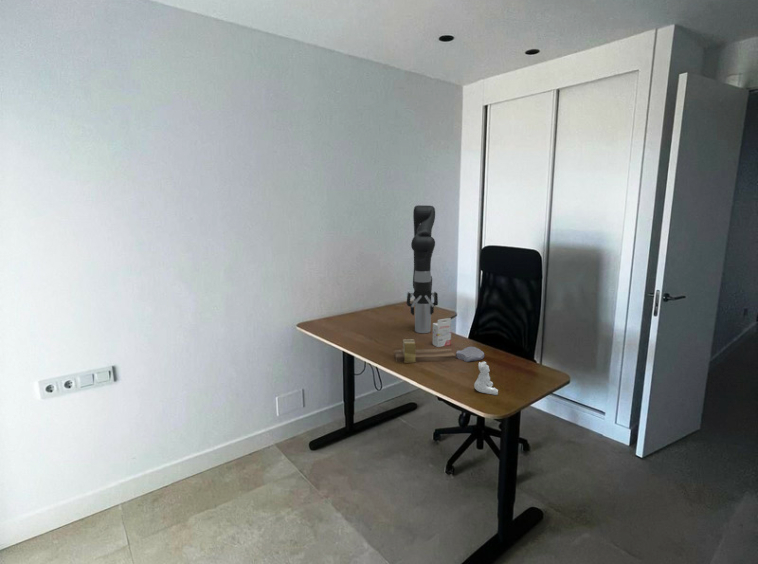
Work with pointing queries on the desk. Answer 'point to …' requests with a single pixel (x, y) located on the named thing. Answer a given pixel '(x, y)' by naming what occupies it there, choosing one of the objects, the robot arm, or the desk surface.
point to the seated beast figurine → (484, 380)
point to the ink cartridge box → (442, 333)
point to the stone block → (470, 354)
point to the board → (428, 355)
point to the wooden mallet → (409, 350)
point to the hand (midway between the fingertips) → (421, 314)
